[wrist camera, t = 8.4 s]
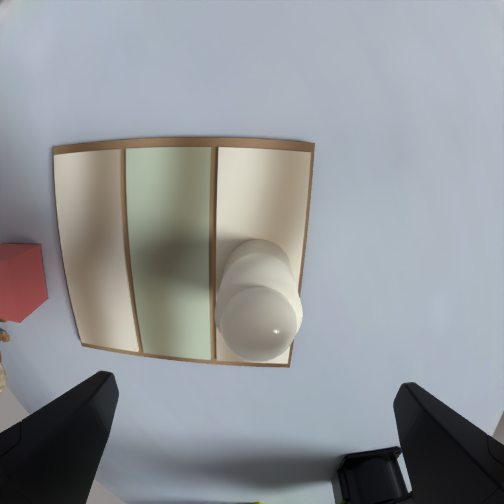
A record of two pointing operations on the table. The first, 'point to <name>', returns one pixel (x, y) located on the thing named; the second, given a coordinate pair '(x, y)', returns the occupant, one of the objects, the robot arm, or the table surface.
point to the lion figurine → (0, 372)
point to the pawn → (258, 301)
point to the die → (21, 280)
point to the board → (172, 235)
